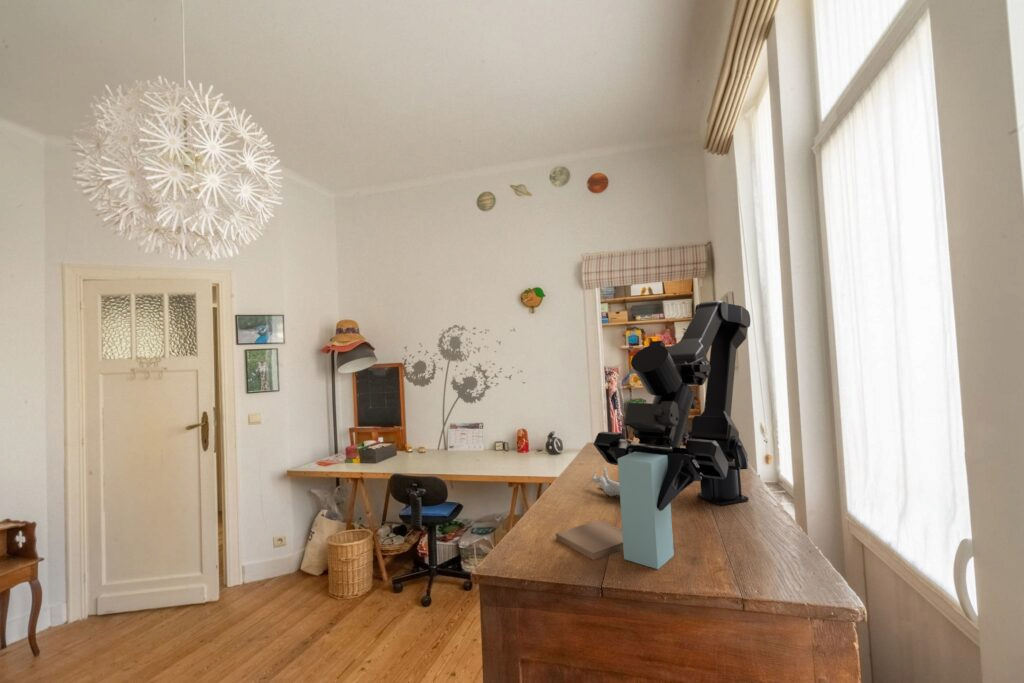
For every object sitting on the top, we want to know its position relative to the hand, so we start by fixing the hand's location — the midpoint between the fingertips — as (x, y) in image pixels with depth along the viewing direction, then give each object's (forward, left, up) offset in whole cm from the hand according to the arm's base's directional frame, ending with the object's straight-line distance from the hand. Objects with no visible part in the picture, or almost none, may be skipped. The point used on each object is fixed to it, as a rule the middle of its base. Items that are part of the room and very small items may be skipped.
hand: (640, 505), depth 62 cm
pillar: (-1, -1, -8) cm, 8 cm away
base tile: (+3, -9, -8) cm, 12 cm away
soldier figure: (-10, -27, -8) cm, 30 cm away
